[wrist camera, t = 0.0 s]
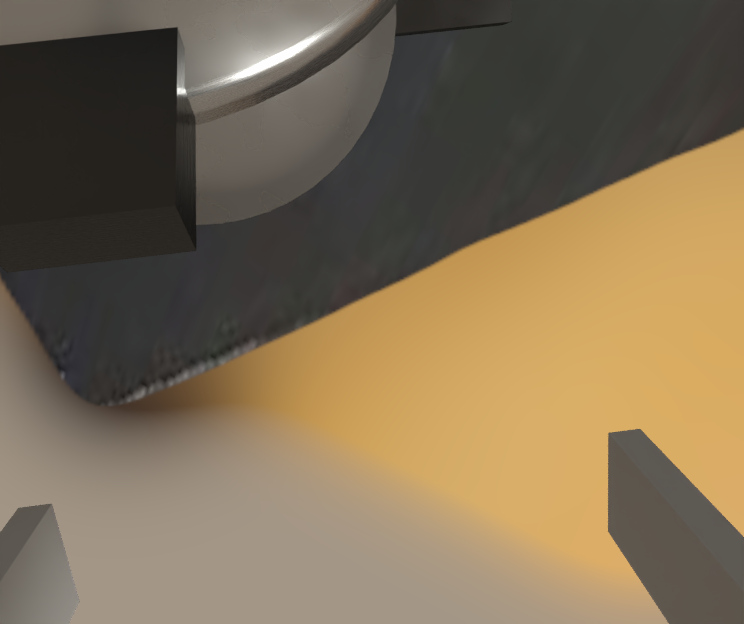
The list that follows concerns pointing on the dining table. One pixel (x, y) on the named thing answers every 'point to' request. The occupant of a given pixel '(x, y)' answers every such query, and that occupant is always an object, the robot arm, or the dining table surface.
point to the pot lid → (137, 111)
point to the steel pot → (314, 117)
